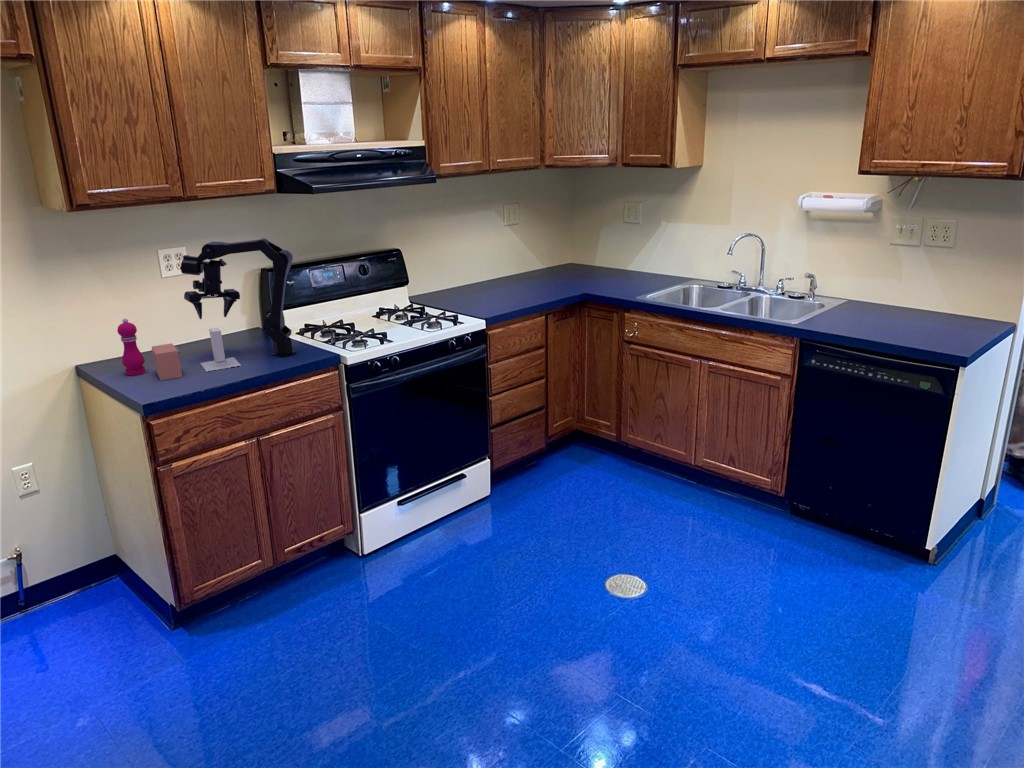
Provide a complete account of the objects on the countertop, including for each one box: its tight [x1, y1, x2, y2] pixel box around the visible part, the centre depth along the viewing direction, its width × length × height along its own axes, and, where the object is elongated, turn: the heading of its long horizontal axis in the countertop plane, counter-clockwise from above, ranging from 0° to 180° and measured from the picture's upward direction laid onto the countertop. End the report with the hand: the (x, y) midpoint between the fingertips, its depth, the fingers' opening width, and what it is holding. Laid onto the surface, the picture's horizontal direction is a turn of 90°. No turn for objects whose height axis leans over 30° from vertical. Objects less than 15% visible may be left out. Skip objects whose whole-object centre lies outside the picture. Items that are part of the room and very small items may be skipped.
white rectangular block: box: [208, 327, 226, 366], centre depth 265 cm, size 3×5×13 cm, turn 32°
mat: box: [199, 357, 242, 373], centre depth 268 cm, size 12×12×1 cm
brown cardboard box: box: [151, 342, 183, 381], centre depth 258 cm, size 8×12×9 cm, turn 32°
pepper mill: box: [116, 318, 146, 377], centre depth 258 cm, size 7×7×20 cm
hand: (212, 317), depth 273 cm, fingers open, 9 cm apart
